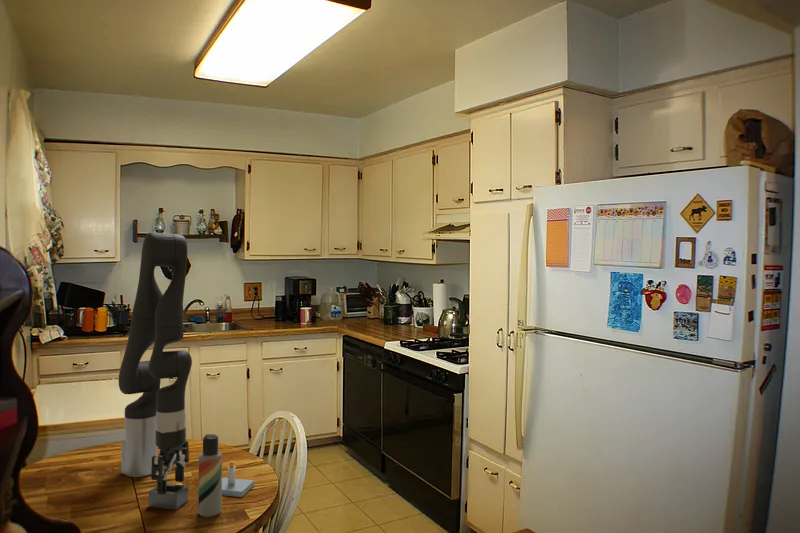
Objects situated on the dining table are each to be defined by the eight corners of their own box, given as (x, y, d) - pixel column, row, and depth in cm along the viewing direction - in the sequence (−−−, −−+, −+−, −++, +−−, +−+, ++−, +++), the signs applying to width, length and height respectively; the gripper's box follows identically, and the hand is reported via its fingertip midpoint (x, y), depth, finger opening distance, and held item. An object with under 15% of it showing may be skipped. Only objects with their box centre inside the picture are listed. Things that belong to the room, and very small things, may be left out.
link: (148, 506, 154) (148, 491, 154) (160, 497, 160) (160, 483, 160) (176, 509, 153) (176, 494, 153) (188, 500, 159) (188, 485, 158)
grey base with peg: (208, 493, 163) (208, 465, 163) (221, 482, 171) (221, 455, 171) (241, 497, 161) (242, 468, 161) (254, 485, 169) (254, 457, 169)
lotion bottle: (201, 507, 155) (202, 431, 154) (223, 507, 155) (224, 431, 154) (195, 517, 149) (196, 439, 148) (218, 517, 149) (219, 438, 149)
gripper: (172, 418, 164) (172, 476, 164) (141, 433, 149) (142, 497, 150) (197, 419, 162) (197, 478, 163) (169, 435, 148) (169, 499, 149)
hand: (171, 487), depth 156 cm, fingers open, 8 cm apart
